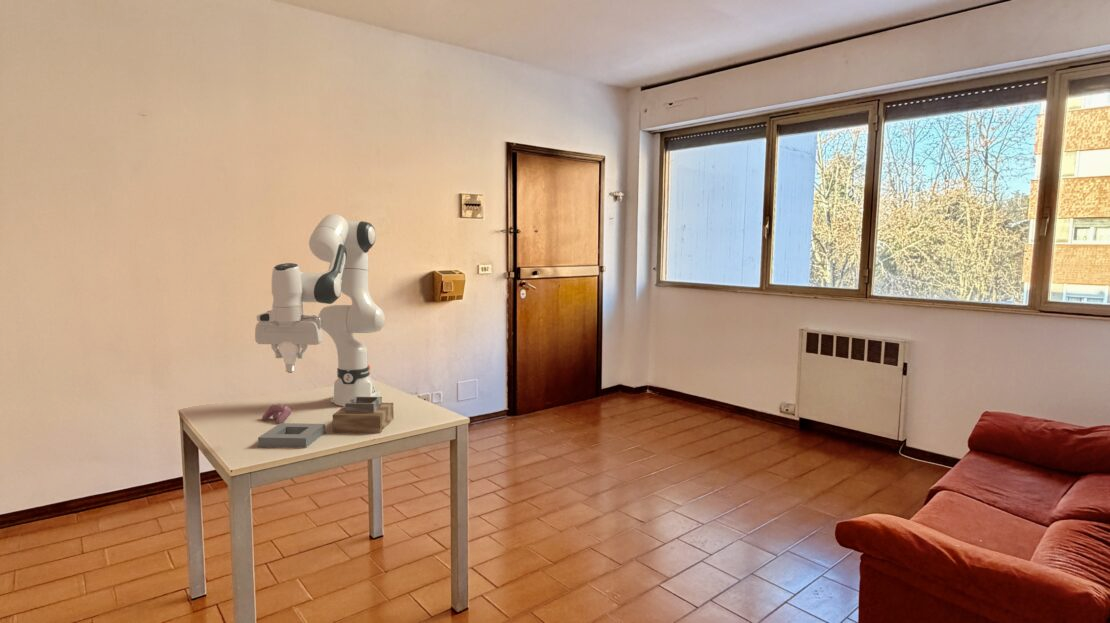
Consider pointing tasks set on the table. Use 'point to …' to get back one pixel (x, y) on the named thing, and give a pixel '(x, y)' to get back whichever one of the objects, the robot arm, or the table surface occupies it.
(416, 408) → the table surface
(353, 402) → the raised socket stand
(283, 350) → the lightbulb
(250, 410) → the table surface
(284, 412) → the video game controller
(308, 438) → the low socket block
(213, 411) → the table surface
